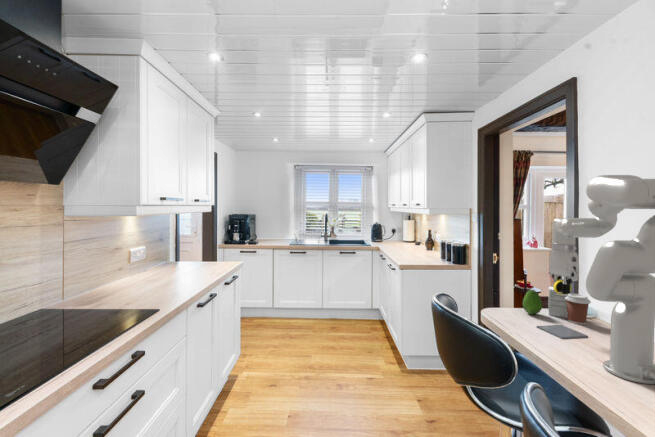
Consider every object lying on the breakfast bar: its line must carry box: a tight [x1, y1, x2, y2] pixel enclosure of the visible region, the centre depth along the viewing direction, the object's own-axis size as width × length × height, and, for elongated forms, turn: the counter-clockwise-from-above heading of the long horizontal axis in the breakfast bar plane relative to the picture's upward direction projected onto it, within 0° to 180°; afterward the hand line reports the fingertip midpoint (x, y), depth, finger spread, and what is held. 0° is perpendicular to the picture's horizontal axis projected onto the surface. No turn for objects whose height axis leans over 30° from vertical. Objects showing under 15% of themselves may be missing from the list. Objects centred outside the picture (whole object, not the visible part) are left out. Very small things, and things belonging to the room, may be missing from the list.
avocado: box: [522, 289, 543, 315], centre depth 151 cm, size 8×8×12 cm
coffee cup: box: [565, 293, 592, 325], centre depth 141 cm, size 9×9×12 cm
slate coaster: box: [536, 324, 589, 340], centre depth 128 cm, size 12×12×1 cm
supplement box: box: [548, 286, 568, 319], centre depth 150 cm, size 7×7×13 cm
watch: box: [553, 278, 572, 294], centre depth 128 cm, size 6×3×6 cm, turn 81°
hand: (562, 292), depth 128 cm, fingers closed on watch, 2 cm apart
